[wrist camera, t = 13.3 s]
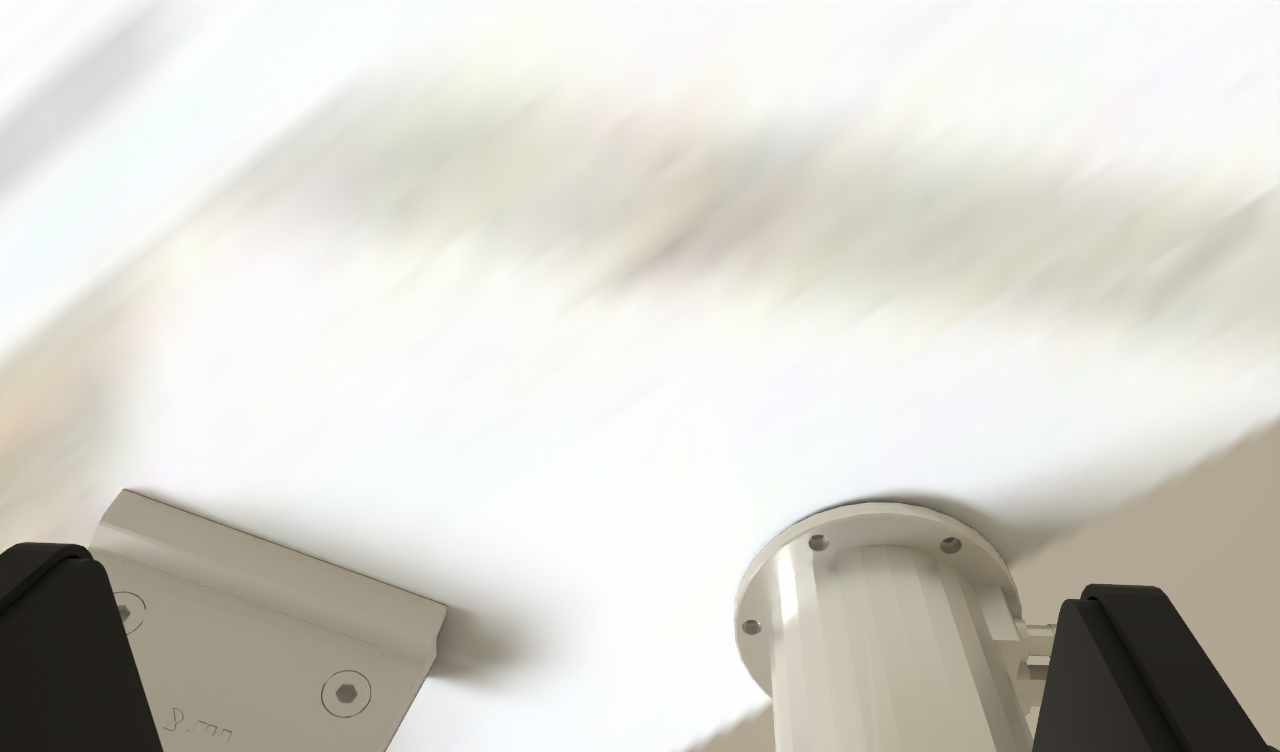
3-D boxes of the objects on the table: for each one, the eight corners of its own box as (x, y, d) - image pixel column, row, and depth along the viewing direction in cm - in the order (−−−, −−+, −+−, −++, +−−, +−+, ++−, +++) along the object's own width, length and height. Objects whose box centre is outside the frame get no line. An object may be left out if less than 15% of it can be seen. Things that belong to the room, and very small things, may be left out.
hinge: (455, 608, 44) (371, 823, 37) (439, 648, 48) (359, 852, 41) (114, 485, 43) (-40, 686, 36) (122, 536, 46) (-16, 728, 39)
